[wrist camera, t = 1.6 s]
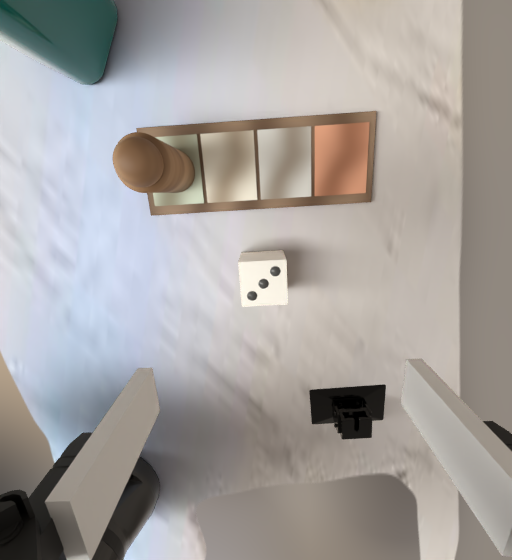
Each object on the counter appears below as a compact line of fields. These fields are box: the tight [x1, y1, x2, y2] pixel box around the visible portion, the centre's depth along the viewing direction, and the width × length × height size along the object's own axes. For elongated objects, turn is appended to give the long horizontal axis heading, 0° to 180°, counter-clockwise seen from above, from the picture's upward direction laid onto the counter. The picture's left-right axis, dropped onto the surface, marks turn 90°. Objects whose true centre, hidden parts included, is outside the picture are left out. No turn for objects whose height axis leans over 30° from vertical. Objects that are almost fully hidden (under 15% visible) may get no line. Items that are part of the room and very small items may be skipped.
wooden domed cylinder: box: [113, 132, 195, 193], centre depth 25 cm, size 4×4×11 cm
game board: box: [136, 111, 376, 215], centre depth 31 cm, size 25×9×1 cm, turn 93°
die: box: [238, 250, 288, 307], centre depth 32 cm, size 5×5×5 cm
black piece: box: [310, 385, 386, 439], centre depth 38 cm, size 13×8×5 cm, turn 95°
